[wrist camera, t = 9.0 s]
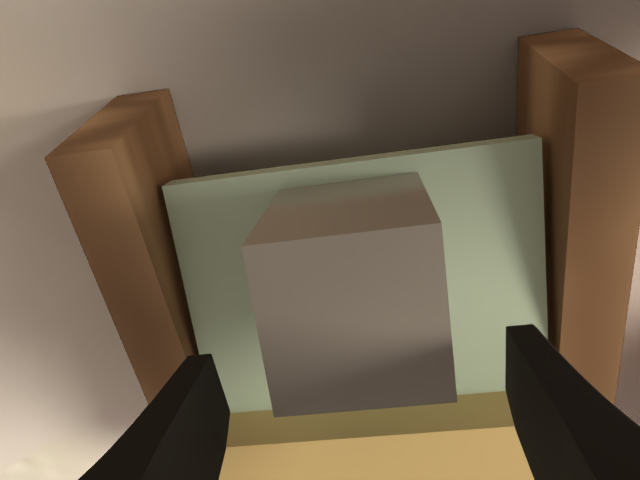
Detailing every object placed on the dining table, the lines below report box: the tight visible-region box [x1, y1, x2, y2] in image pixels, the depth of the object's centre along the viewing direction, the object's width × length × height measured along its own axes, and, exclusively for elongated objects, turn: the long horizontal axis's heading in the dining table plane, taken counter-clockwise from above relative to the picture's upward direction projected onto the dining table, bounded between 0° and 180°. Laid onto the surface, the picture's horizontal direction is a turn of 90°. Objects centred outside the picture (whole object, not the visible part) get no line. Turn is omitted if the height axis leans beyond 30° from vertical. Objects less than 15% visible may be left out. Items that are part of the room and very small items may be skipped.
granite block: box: [241, 172, 457, 418], centre depth 16 cm, size 4×4×6 cm
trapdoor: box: [162, 134, 548, 480], centre depth 19 cm, size 12×11×3 cm
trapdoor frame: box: [45, 28, 640, 405], centre depth 22 cm, size 17×16×6 cm
